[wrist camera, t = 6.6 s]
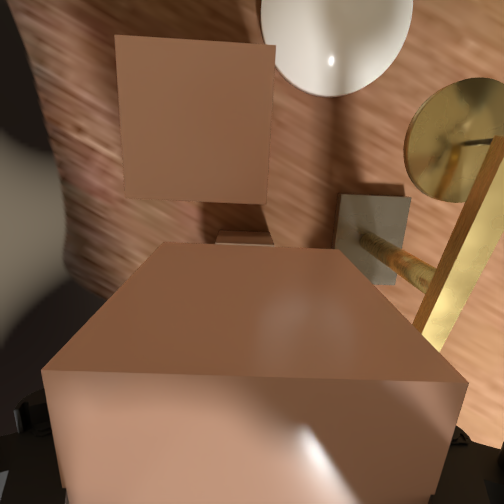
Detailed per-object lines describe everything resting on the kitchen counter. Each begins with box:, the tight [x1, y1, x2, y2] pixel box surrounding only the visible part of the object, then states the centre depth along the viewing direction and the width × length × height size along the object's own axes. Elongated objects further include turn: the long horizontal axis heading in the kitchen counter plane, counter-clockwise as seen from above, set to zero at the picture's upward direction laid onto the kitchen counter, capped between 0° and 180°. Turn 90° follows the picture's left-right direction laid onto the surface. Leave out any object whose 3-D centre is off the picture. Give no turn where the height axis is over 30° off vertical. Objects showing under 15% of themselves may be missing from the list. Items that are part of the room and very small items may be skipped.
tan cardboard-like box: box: [114, 35, 276, 205], centre depth 21 cm, size 8×8×9 cm
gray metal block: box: [215, 230, 274, 247], centre depth 27 cm, size 4×4×4 cm
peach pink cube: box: [41, 242, 469, 504], centre depth 11 cm, size 8×8×9 cm
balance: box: [331, 78, 504, 352], centre depth 21 cm, size 21×6×15 cm, turn 177°
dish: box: [261, 0, 413, 97], centre depth 23 cm, size 11×11×1 cm
